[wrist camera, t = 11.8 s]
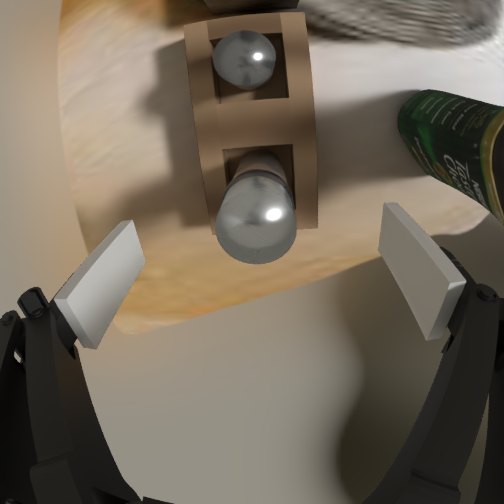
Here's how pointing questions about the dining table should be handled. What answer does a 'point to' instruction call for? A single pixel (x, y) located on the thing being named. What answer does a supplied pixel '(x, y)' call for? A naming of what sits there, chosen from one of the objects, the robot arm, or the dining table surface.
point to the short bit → (245, 59)
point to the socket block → (247, 5)
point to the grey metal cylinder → (257, 211)
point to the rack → (255, 110)
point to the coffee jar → (458, 144)
